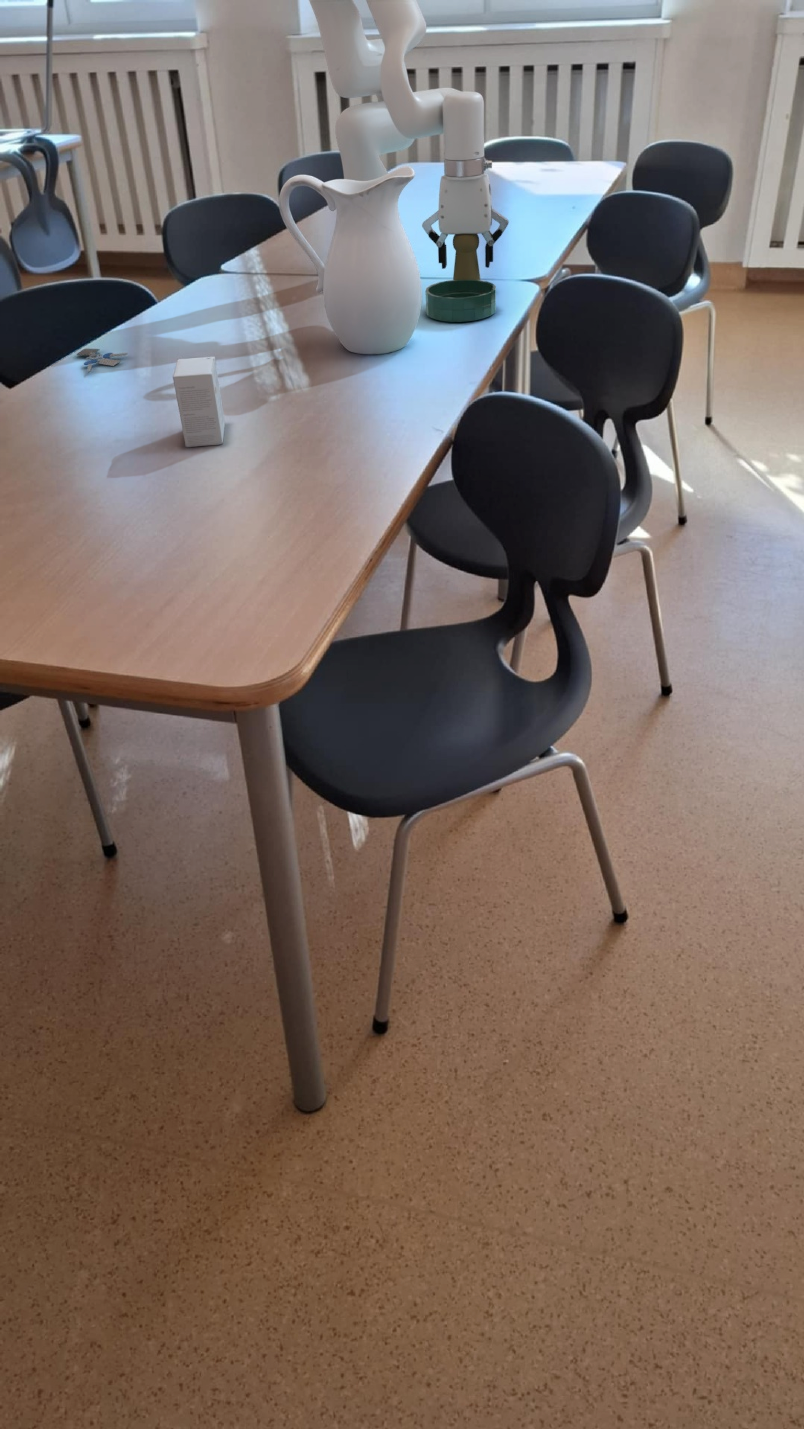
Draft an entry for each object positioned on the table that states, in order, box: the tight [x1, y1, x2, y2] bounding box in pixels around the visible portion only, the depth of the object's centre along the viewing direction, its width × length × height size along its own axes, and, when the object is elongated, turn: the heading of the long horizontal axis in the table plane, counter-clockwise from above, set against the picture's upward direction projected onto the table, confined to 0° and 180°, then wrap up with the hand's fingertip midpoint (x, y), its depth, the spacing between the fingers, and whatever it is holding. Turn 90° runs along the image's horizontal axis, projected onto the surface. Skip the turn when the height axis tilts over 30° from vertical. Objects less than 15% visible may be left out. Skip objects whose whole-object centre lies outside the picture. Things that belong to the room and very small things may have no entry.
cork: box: [452, 234, 481, 280], centre depth 209 cm, size 6×6×11 cm
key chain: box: [76, 348, 128, 373], centre depth 190 cm, size 14×8×1 cm, turn 23°
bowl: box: [424, 279, 497, 323], centre depth 201 cm, size 13×13×4 cm
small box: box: [172, 356, 226, 448], centre depth 155 cm, size 8×6×10 cm
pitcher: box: [278, 165, 423, 355], centre depth 182 cm, size 24×17×28 cm
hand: (465, 266), depth 210 cm, fingers open, 8 cm apart
